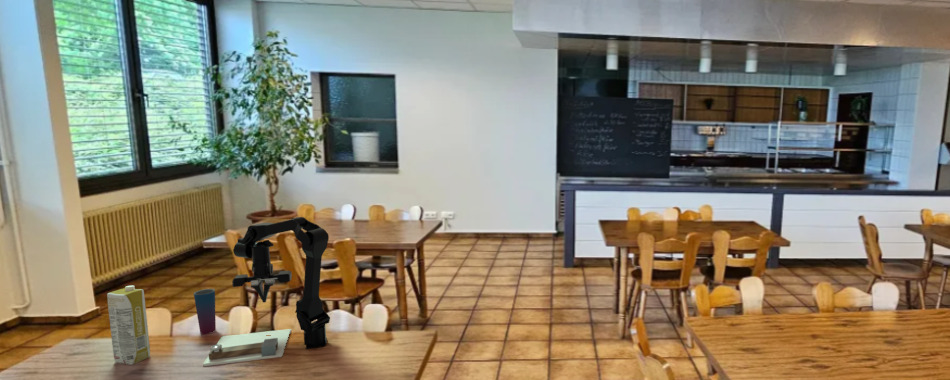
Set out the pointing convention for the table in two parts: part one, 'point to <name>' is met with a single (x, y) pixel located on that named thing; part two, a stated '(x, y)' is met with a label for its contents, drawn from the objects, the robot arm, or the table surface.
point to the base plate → (248, 339)
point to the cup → (205, 310)
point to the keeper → (269, 347)
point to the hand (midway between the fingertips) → (264, 302)
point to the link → (237, 350)
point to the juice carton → (128, 325)
